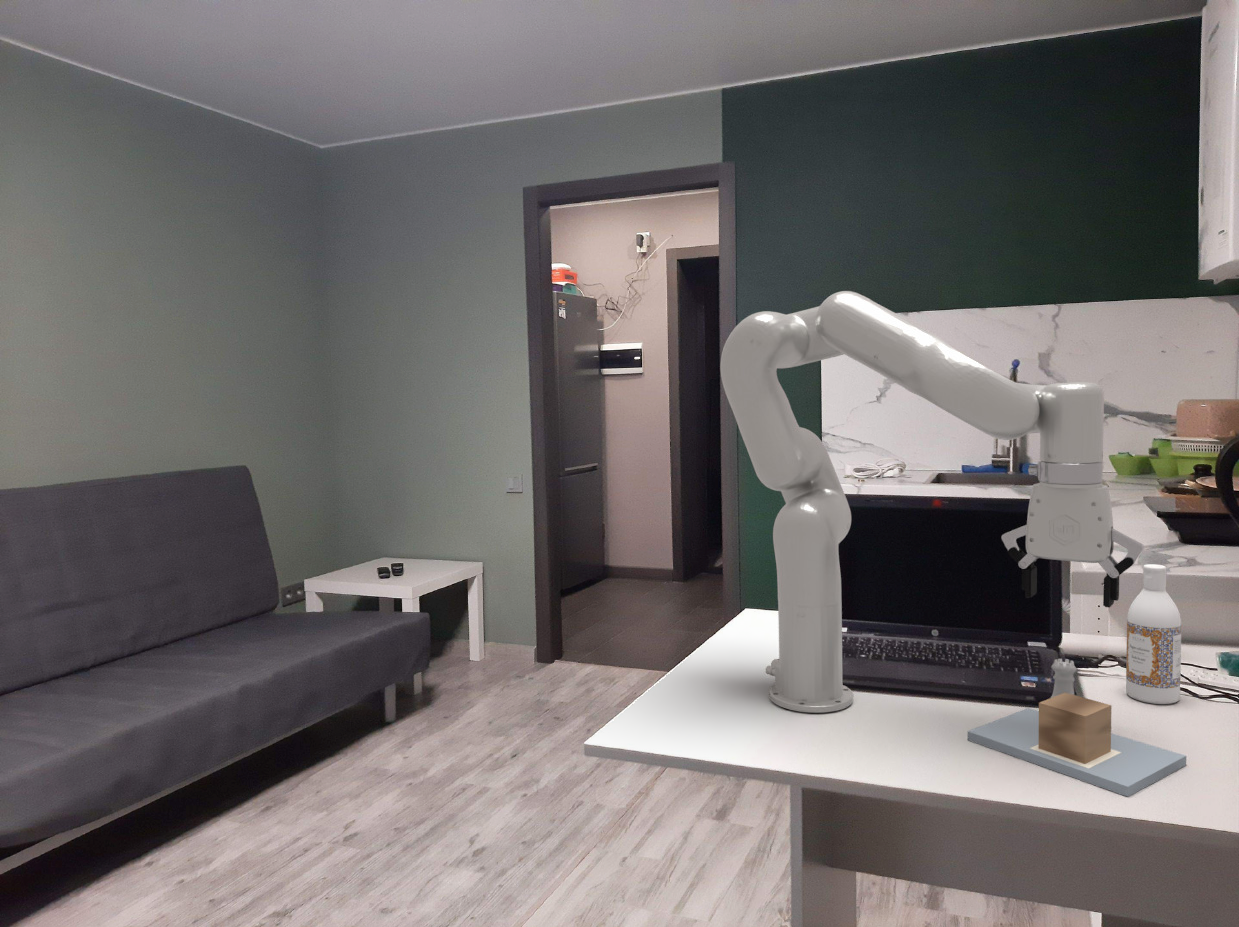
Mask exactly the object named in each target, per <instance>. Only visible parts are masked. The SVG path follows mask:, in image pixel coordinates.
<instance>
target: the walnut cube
mask: <svg viewBox="0 0 1239 927" xmlns="http://www.w3.org/2000/svg"><path fill="white" fill-rule="evenodd" d="M1038 711H1039V749H1042V750H1045V751H1048V752H1051V753H1054V754H1057V755H1059V756H1062V757H1065V758H1068V759H1071V760H1074V761H1077V762H1080V763H1083V764H1086V763H1088V762H1090V761H1093V760H1095V759H1097V758H1099V757H1101V756H1103V755H1105V754H1107V753H1109V752H1111V733H1112V704H1110V703H1109V704H1108V703H1104V702H1101V701H1097V700H1094V699H1090V698H1086V697H1082V696H1078V695H1076V694H1074V695H1072V694H1069V693H1062V694H1060V695H1057V696H1055V697H1052V698H1051V697H1049V698H1047V699H1046V700H1045V699H1044V700H1042V701H1040V702H1038Z"/></svg>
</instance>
